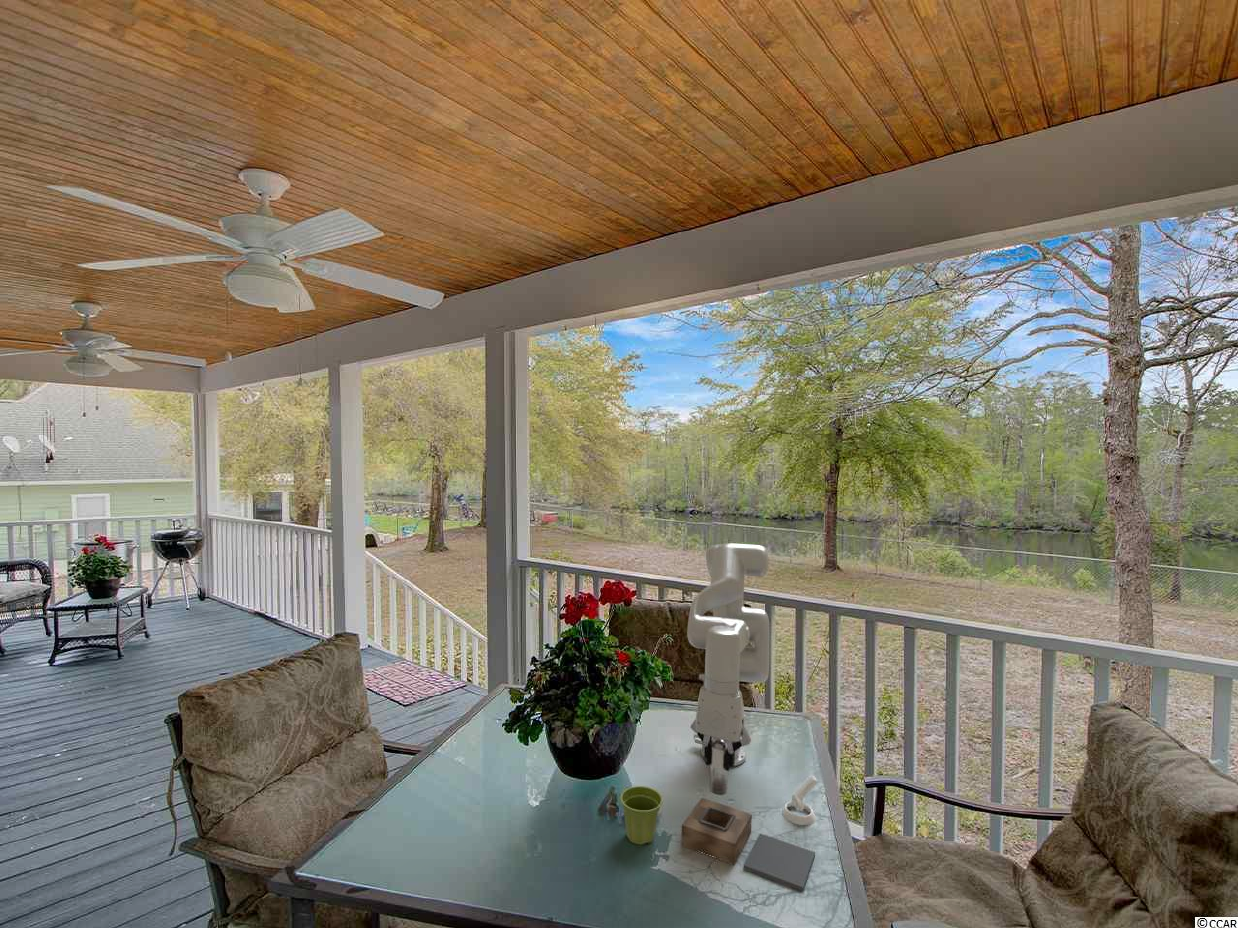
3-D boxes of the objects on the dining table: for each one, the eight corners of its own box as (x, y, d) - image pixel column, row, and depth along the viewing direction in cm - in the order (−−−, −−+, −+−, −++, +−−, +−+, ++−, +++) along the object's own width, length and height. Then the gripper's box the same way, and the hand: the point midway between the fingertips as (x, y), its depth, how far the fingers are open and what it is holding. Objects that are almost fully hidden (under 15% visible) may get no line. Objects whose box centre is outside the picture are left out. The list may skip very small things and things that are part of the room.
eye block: (681, 845, 128) (681, 822, 128) (701, 816, 139) (701, 795, 139) (734, 865, 122) (735, 841, 122) (751, 833, 133) (751, 812, 133)
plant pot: (666, 828, 134) (667, 790, 134) (654, 854, 125) (656, 814, 125) (627, 819, 137) (628, 782, 137) (613, 844, 128) (614, 804, 128)
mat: (743, 868, 121) (743, 864, 121) (759, 836, 132) (759, 833, 132) (803, 891, 116) (803, 887, 116) (814, 855, 126) (815, 852, 126)
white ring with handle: (841, 804, 136) (820, 791, 135) (808, 840, 138) (786, 827, 136) (827, 780, 144) (807, 767, 142) (795, 814, 145) (775, 801, 144)
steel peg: (707, 791, 130) (708, 740, 130) (713, 783, 133) (714, 733, 133) (723, 796, 128) (725, 745, 128) (729, 788, 132) (730, 738, 131)
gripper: (680, 681, 131) (678, 762, 131) (753, 698, 123) (750, 784, 123) (693, 670, 137) (690, 747, 138) (763, 686, 129) (760, 768, 130)
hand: (719, 764), depth 131 cm, fingers closed on steel peg, 3 cm apart
